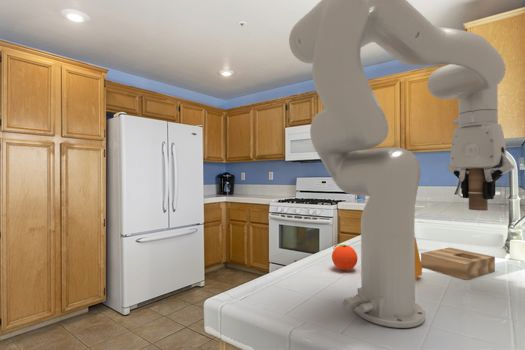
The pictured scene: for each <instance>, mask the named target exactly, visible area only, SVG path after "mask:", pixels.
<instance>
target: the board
mask: <svg viewBox="0 0 525 350" xmlns="http://www.w3.org/2000/svg"><path fill="white" fill-rule="evenodd" d="M495 257H496V256H494V255H493V256H492V255H489V254H484V253H479V252H473V251H469V250H465V249H459V248H454V247H446V248H441V249H436V250H435V249H434V250H430V251H423V252H421V253H420V261H421V266H422V269H423V268H424V269H427V270H430V271H433V272H437V273H441V274H444V275H447V276H451V277H454V278H458V279H462V280H470V279H474V278H476V277H481V276H484V275H488V274H490V273H494V272H495V271H496V258H495Z"/></svg>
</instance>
